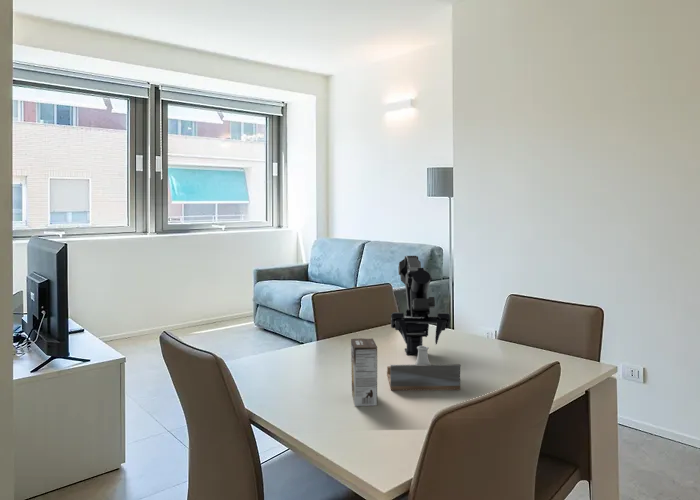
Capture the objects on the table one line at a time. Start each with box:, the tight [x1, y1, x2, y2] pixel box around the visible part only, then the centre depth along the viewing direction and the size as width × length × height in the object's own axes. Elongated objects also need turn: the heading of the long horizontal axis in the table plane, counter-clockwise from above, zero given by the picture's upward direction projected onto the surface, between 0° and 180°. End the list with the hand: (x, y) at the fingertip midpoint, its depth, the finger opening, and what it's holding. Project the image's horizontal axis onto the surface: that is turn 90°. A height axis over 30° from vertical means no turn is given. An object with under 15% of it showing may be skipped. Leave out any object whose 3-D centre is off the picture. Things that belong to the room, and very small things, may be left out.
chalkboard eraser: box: [386, 363, 461, 391], centre depth 157 cm, size 14×20×7 cm
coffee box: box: [350, 338, 378, 407], centre depth 143 cm, size 9×6×16 cm
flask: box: [414, 345, 431, 365], centre depth 155 cm, size 7×7×10 cm
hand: (421, 343), depth 163 cm, fingers open, 9 cm apart
